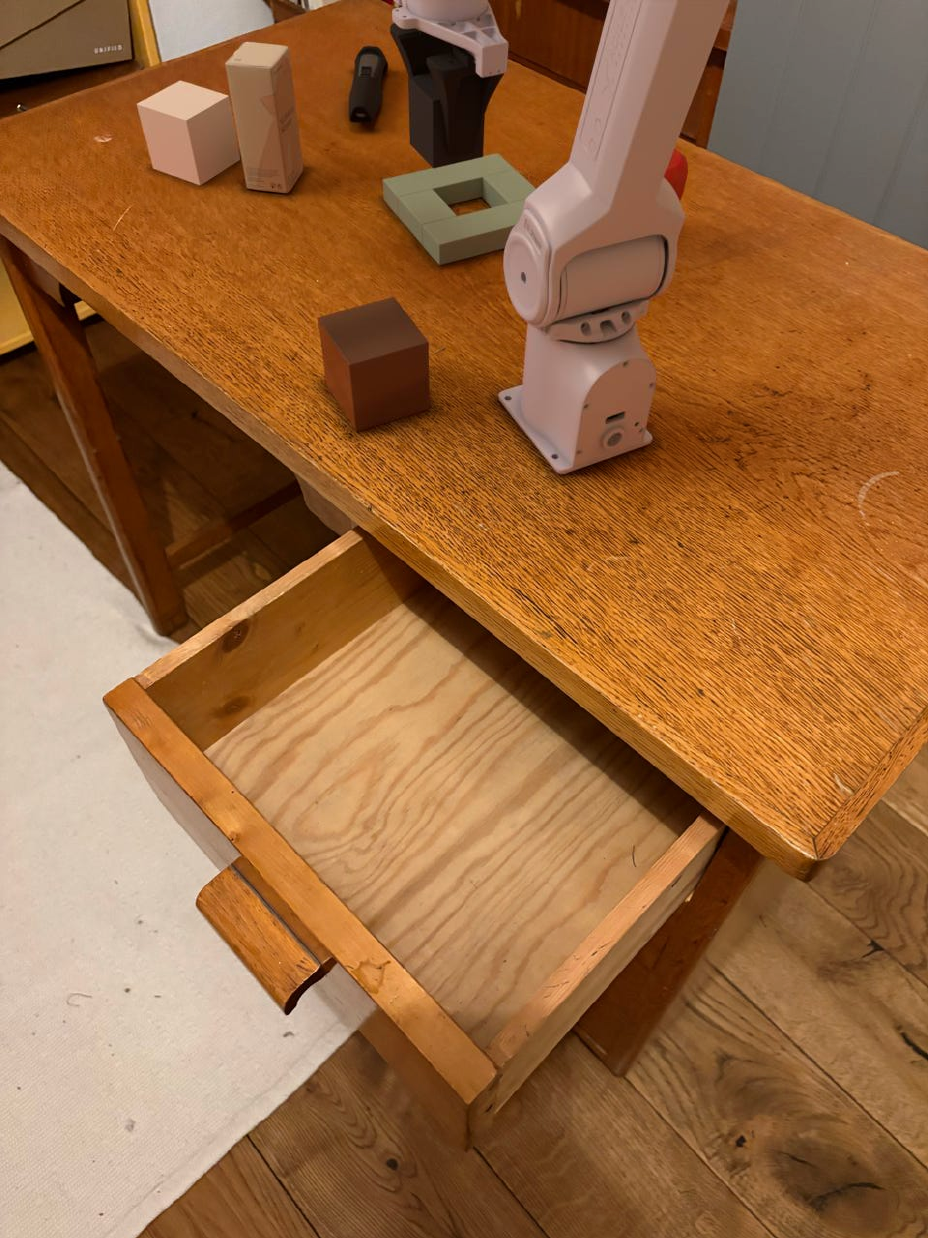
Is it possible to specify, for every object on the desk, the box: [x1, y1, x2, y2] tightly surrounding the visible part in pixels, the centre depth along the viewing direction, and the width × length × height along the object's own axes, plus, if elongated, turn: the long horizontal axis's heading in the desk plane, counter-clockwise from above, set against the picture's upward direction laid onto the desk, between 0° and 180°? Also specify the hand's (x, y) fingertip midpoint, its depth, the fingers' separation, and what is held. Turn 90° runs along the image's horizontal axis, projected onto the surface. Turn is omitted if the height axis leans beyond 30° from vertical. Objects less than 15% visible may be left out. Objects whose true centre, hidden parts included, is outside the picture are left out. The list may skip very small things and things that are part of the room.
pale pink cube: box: [136, 79, 241, 186], centre depth 87 cm, size 6×6×6 cm
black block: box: [407, 72, 486, 168], centre depth 70 cm, size 4×4×5 cm
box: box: [225, 41, 304, 194], centre depth 83 cm, size 5×4×11 cm
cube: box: [317, 296, 431, 433], centre depth 66 cm, size 6×6×6 cm
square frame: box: [382, 152, 537, 266], centre depth 83 cm, size 12×12×2 cm
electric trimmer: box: [348, 45, 389, 124], centre depth 97 cm, size 4×16×3 cm, turn 179°
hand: (446, 138), depth 71 cm, fingers closed on black block, 4 cm apart
